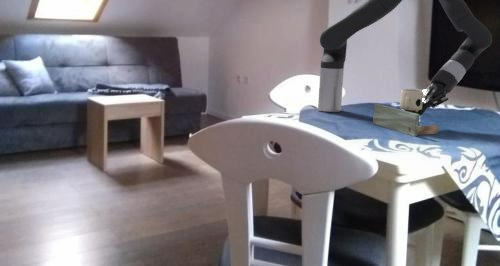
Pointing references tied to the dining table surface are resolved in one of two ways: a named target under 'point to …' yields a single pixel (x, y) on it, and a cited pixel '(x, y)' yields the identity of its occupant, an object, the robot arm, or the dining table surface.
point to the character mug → (411, 100)
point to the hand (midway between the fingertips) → (417, 113)
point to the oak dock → (401, 121)
